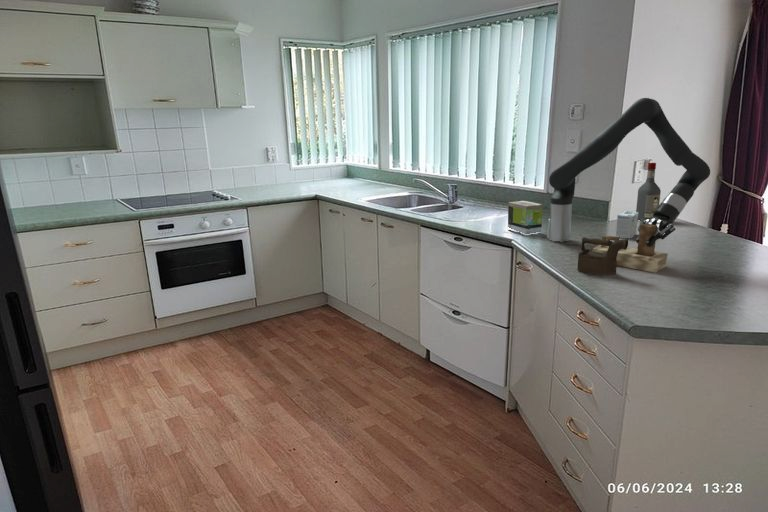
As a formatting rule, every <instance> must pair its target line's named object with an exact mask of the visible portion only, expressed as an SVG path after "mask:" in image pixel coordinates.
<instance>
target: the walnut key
mask: <svg viewBox="0 0 768 512" xmlns="http://www.w3.org/2000/svg"><path fill="white" fill-rule="evenodd" d="M639 225H640V224H639ZM656 228H657V225H653V224H642V225H640V229H639V231H638V236H639V241H638V243H637V249H638V250H637V255H643V256H649V257H651V256H653V255H654V251H655V248H656V242H655V243H654V244H653V245H652V246H651V247H648V246H647V245H646V242H647V241H648V240H649V239H650V237H651V236H653V233H654V232H655V229H656Z"/></svg>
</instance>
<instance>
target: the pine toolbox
mask: <svg viewBox="0 0 768 512" xmlns="http://www.w3.org/2000/svg"><path fill="white" fill-rule="evenodd" d="M601 240H610V241H612V242H614V241H617V240H620V238H619V237H616V236H612V235H605V234H602V235H601ZM608 249H609V246H605V245H596V247H593V248H592V250H591V251H595V252H600V253H605V254H606V253H607V250H608ZM637 250H638V248H634V247H629V246H628V247H627V249H626V250H624V249H620V250H619V251H618V254H617V258H616V259H617V267H618V266H619V267H624V268H629V269H635V270H640V271H646V272H650V273H655V274H656V273H658V272H660V271H661V270H663V269H664V268H666V267H667V261H668V252H667V253H666V252H660V251H655V250H654V255H653V256H651V257H649V256H643V255H637Z"/></svg>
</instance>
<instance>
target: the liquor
mask: <svg viewBox="0 0 768 512" xmlns="http://www.w3.org/2000/svg"><path fill="white" fill-rule="evenodd" d="M656 169H657V162H648V163H647V174H646V175H647V176H646V180H645V182H644V183H643V184H642V185H640V186H639V188H638V189H637V200H636V207H635V212H639V213H638V220H640V221H641V219H643V218H644V219H645V220H647V219H650V218H651V217H652V216H653V214H654V211H655V210H656V209H657V207H658V206H659V205H660V203H661V202H660V201H661V200H660V199H661V188H660V186H658V184H657V183H656V181H655V178H656V177H655V176H656V175H655V174H656Z"/></svg>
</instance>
